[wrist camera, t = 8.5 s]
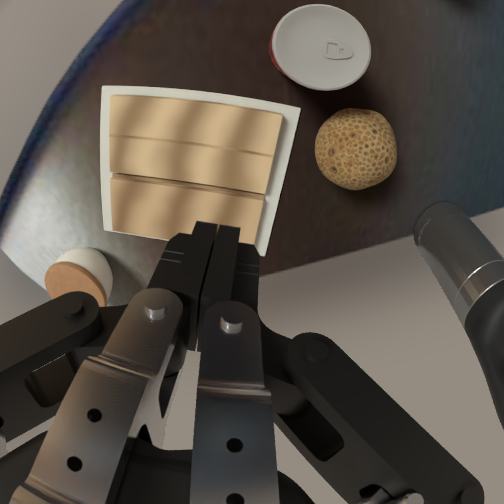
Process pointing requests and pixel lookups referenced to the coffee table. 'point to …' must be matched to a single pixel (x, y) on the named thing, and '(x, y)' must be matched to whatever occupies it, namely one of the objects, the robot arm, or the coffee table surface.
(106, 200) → the underlay mat
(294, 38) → the canned food
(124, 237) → the coffee table surface
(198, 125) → the loose plank
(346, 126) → the natural sponge
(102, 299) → the lidded jar
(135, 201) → the laid plank
